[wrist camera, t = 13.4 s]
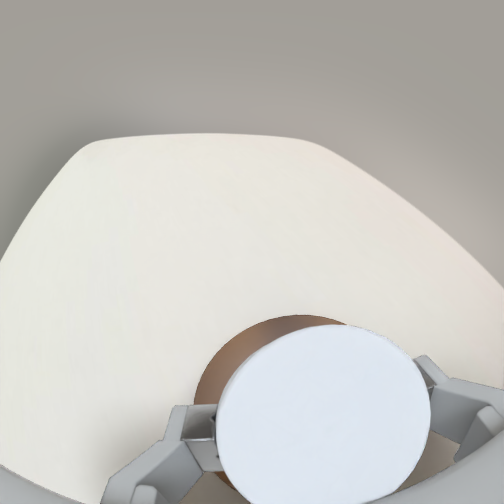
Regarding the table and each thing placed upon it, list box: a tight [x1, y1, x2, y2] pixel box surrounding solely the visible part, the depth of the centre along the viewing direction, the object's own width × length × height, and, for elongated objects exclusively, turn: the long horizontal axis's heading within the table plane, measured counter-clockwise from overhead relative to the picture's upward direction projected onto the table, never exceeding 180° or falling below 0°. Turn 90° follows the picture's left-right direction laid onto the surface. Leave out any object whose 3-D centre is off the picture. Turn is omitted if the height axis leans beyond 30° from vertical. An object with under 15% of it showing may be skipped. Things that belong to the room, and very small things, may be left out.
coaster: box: [194, 315, 346, 492], centre depth 12 cm, size 11×11×1 cm
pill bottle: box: [216, 325, 431, 504], centre depth 8 cm, size 6×5×10 cm
